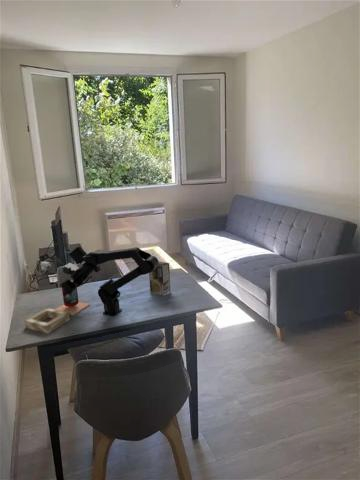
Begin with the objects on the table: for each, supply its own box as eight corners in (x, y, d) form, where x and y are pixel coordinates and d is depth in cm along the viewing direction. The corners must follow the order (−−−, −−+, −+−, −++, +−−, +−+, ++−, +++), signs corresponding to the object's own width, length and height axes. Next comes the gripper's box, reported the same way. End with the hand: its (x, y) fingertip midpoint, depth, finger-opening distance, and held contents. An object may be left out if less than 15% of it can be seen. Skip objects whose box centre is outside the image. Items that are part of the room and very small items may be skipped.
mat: (89, 305, 175) (89, 304, 175) (72, 315, 164) (72, 314, 164) (71, 301, 180) (70, 300, 180) (53, 311, 170) (53, 310, 169)
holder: (69, 319, 161) (68, 312, 160) (47, 333, 150) (46, 326, 149) (48, 314, 166) (47, 307, 165) (25, 327, 155) (24, 320, 154)
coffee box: (171, 292, 187) (169, 262, 182) (164, 296, 181) (162, 266, 177) (157, 289, 191) (155, 260, 187) (149, 293, 186) (147, 263, 182)
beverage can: (68, 309, 167) (65, 285, 164) (61, 305, 172) (58, 281, 169) (81, 304, 172) (78, 281, 168) (74, 300, 176) (71, 277, 173)
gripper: (83, 252, 173) (66, 273, 179) (61, 265, 156) (43, 287, 162) (99, 268, 173) (82, 288, 179) (79, 283, 156) (60, 304, 162)
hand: (67, 291), depth 170 cm, fingers closed on beverage can, 7 cm apart
